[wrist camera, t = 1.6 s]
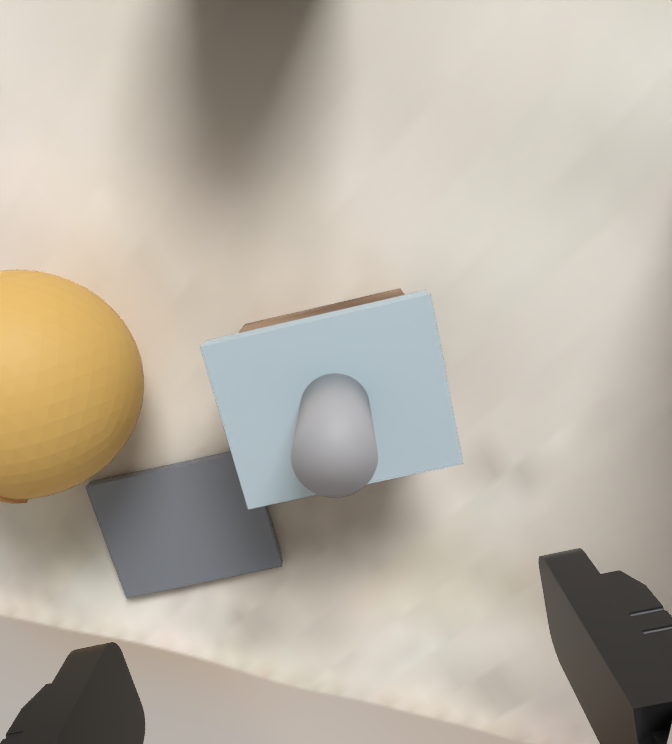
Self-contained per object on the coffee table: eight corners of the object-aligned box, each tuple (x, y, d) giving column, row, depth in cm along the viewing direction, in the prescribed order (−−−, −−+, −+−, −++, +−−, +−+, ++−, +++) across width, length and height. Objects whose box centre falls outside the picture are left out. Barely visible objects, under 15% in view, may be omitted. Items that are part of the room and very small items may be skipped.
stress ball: (146, 263, 32) (-84, 191, 24) (213, 392, 26) (-65, 346, 19) (69, 405, 35) (-150, 378, 28) (111, 546, 29) (-152, 557, 22)
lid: (422, 286, 26) (455, 318, 19) (453, 444, 28) (494, 527, 21) (210, 335, 26) (164, 383, 19) (254, 486, 28) (227, 582, 21)
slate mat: (249, 447, 33) (248, 451, 32) (282, 560, 35) (281, 566, 34) (89, 482, 34) (85, 487, 33) (129, 591, 35) (126, 598, 35)
